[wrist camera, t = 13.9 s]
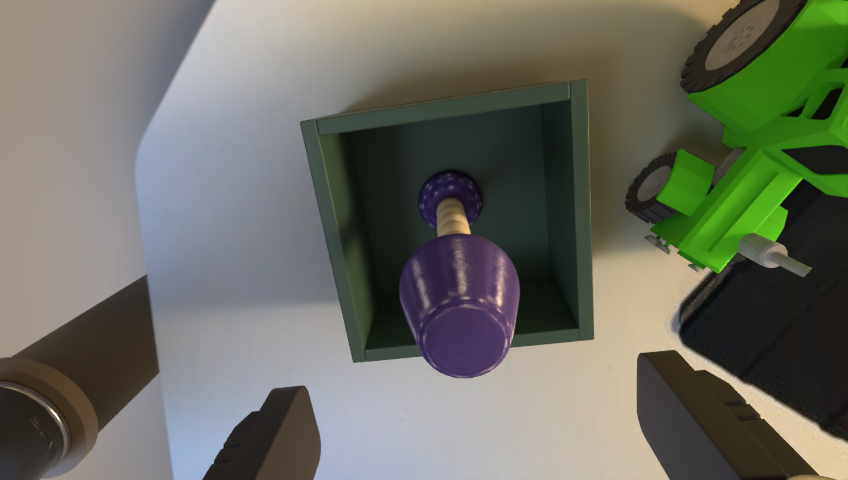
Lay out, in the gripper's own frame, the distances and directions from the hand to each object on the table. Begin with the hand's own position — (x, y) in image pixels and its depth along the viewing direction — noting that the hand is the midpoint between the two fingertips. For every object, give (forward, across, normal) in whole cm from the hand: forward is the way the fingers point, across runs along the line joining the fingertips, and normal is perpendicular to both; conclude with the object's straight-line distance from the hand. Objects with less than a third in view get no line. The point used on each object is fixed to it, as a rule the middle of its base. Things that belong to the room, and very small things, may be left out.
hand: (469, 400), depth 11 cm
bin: (+21, 0, 0) cm, 21 cm away
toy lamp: (+20, 0, 0) cm, 20 cm away
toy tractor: (+21, -18, -2) cm, 28 cm away
